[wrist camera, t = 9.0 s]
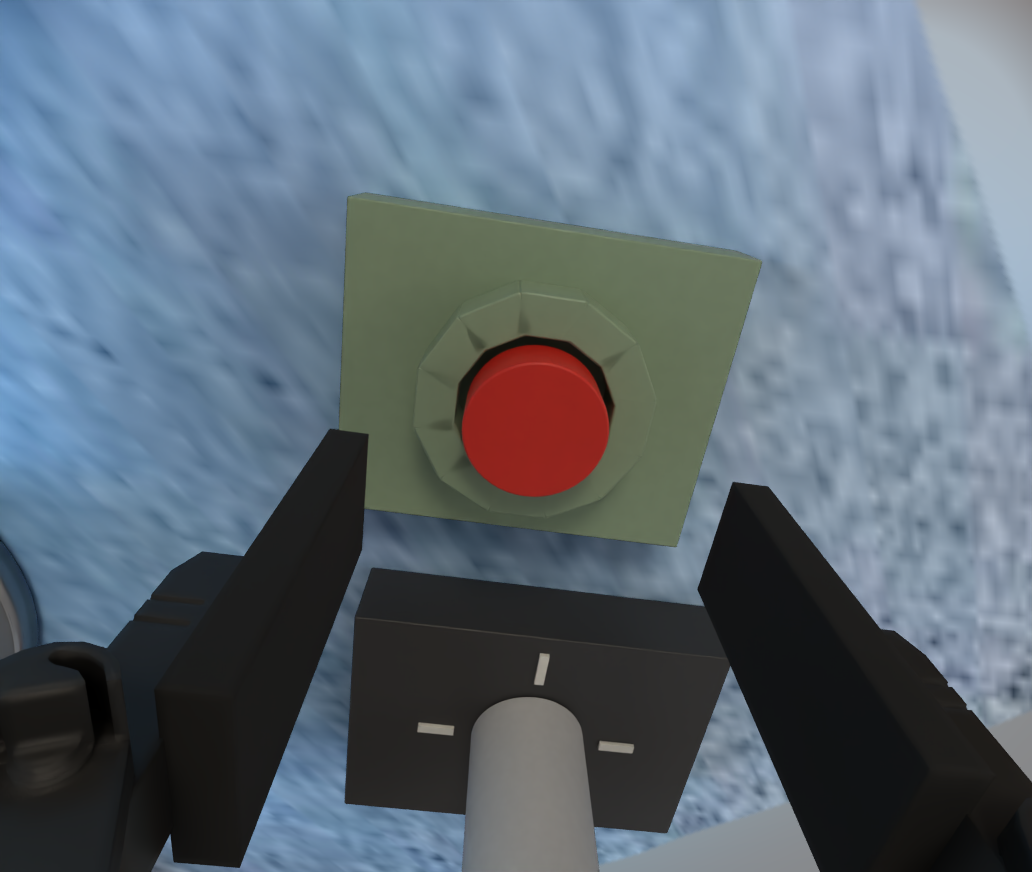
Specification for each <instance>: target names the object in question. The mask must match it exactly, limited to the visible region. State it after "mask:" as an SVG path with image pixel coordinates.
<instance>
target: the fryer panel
mask: <svg viewBox="0 0 1032 872" xmlns="http://www.w3.org/2000/svg"><path fill="white" fill-rule="evenodd" d="M729 668H730V663H729V661H728V659H727V656H726V654H725V652H724V649H723V647H722V645H721V643H720V640H719V638H718V636H717V633H716V631H715V629H714V626H713V624H712V622H711V619H710V617H709V615H708V613H707V610H706V608H705V607H702V606H694V605H685V604H677V603H668V602H660V601H651V600H643V599H634V598H626V597H617V596H609V595H600V594H592V593H583V592H575V591H566V590H558V589H549V588H541V587H532V586H524V585H515V584H507V583H498V582H490V581H481V580H473V579H464V578H456V577H447V576H439V575H430V574H422V573H413V572H405V571H396V570H388V569H379V568H372V569H371V572H370V574H369V577H368V580H367V583H366V586H365V589H364V592H363V595H362V598H361V601H360V604H359V607H358V610H357V612H356V615H355V623H354V641H353V659H352V677H351V695H350V713H349V731H348V749H347V767H346V784H345V803H346V804H355V805H365V806H376V807H387V808H398V809H409V810H420V811H430V812H441V813H452V814H463V815H466V802H467V788H468V774H469V759H470V745H471V733H472V729H473V726H474V724H475V722H476V721H477V719H478V718H479V717H480V716H481V714H482V713H484V712H485V711H486V710H487V709H488V708H490V707H492V706H493V705H495V704H497V703H499V702H502V701H505V700H508V699H512V698H519V697H536V698H543V699H547V700H550V701H553V702H556V703H558V704H560V705H562V706H563V707H565V708H566V709H568V710H569V711H570V712H571V713H572V714H573V715H574V716H575V718H576V719H577V721H578V722H579V724H580V727H581V730H582V735H583V743H584V751H585V759H586V767H587V775H588V783H589V791H590V800H591V808H592V816H593V824H594V827H604V828H615V829H625V830H636V831H647V832H658V833H667V832H668V830H669V827H670V824H671V822H672V819H673V817H674V814H675V811H676V809H677V806H678V803H679V801H680V798H681V795H682V793H683V790H684V787H685V785H686V782H687V779H688V777H689V774H690V771H691V769H692V766H693V763H694V761H695V758H696V755H697V753H698V750H699V748H700V745H701V742H702V740H703V737H704V734H705V732H706V729H707V726H708V724H709V721H710V718H711V716H712V713H713V710H714V708H715V705H716V702H717V700H718V697H719V694H720V692H721V689H722V686H723V684H724V681H725V679H726V676H727V673H728V671H729Z"/></svg>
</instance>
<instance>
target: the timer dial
mask: <svg viewBox="0 0 1032 872" xmlns="http://www.w3.org/2000/svg"><path fill="white" fill-rule="evenodd" d="M462 872H599V864H598V856H597V848H596V840H595V832H594V824H593V816H592V808H591V800H590V791H589V783H588V775H587V767H586V759H585V751H584V743H583V735H582V730H581V727H580V724H579V722H578V721H577V719H576V718H575V716H574V715H573V714H572V713H571V712H570V711H569V710H568V709H566V708H565V707H563V706H562V705H560V704H558V703H556V702H553V701H550V700H547V699H543V698H536V697H519V698H512V699H508V700H505V701H502V702H499V703H497V704H495V705H493V706H492V707H490V708H488V709H487V710H486V711H485V712H484V713H482V714H481V716H480V717H479V718H478V719H477V721H476V722H475V724H474V726H473V729H472V733H471V745H470V759H469V774H468V788H467V802H466V817H465V831H464V845H463V860H462Z"/></svg>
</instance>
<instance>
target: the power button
mask: <svg viewBox="0 0 1032 872" xmlns="http://www.w3.org/2000/svg"><path fill="white" fill-rule="evenodd" d="M608 437H609V419H608V413H607V410H606V406H605V404H604V401H603V398H602V396H601V393H600V391H599V388H598V386H597V383H596V381H595V379H594V377H593V376H592V374H591V373H590V371H589V370H588V369H587V368H586V366H585V365H584V364H583V363H581V362H580V361H579V360H578V359H577V358H575V357H574V356H572V355H571V354H569V353H567V352H565V351H563V350H560V349H558V348H555V347H550V346H546V345H524V346H518V347H515V348H511V349H508V350H506V351H504V352H502V353H500V354H498V355H496V356H495V357H493V358H492V359H491V360H489V361H488V362H487V363H486V364H485V365H484V366H483V367H482V368H481V369H480V370H479V372H478V373H477V374H476V376H475V377H474V379H473V381H472V383H471V385H470V388H469V391H468V393H467V399H466V404H465V409H464V414H463V420H462V440H463V445H464V449H465V451H466V454H467V456H468V458H469V460H470V462H471V464H472V465H473V466H474V468H475V469H476V470H477V472H478V473H479V474H480V475H481V476H482V477H483V478H484V479H486V480H487V481H488V482H489V483H491V484H492V485H494V486H496V487H497V488H499V489H501V490H503V491H506V492H508V493H512V494H515V495H520V496H527V497H543V496H549V495H554V494H557V493H561V492H563V491H566V490H568V489H570V488H572V487H574V486H575V485H577V484H578V483H580V482H581V481H583V480H584V479H585V478H586V477H587V476H588V475H589V474H590V473H591V472H592V471H593V470H594V469H595V467H596V466H597V465H598V463H599V461H600V460H601V458H602V456H603V454H604V452H605V449H606V446H607V443H608Z"/></svg>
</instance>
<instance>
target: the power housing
mask: <svg viewBox="0 0 1032 872" xmlns="http://www.w3.org/2000/svg"><path fill="white" fill-rule="evenodd" d="M761 264H762V261H761V260H758V259H756V258H753V257H751V256H748V255H746V254H743V253H741V252H738V251H734V250H728V249H722V248H715V247H709V246H702V245H696V244H690V243H683V242H677V241H671V240H664V239H658V238H652V237H645V236H639V235H632V234H626V233H620V232H613V231H607V230H601V229H594V228H588V227H582V226H575V225H569V224H563V223H556V222H550V221H543V220H537V219H531V218H524V217H518V216H512V215H505V214H499V213H493V212H486V211H480V210H473V209H467V208H461V207H454V206H448V205H442V204H435V203H429V202H423V201H416V200H410V199H403V198H397V197H391V196H384V195H378V194H372V193H361V194H357V195H352V196H348V198H347V221H346V248H345V275H344V302H343V329H342V356H341V383H340V410H339V430H343V431H351V432H358V433H366V434H369V439H368V456H367V473H366V490H365V507H364V509H371V510H379V511H387V512H395V513H404V514H412V515H420V516H428V517H436V518H444V519H452V520H460V521H468V522H476V523H484V524H492V525H500V526H509V527H517V528H525V529H533V530H541V531H549V532H557V533H565V534H573V535H581V536H589V537H597V538H606V539H614V540H622V541H630V542H638V543H646V544H654V545H662V546H670V547H677V544H678V540H679V537H680V534H681V530H682V527H683V524H684V520H685V517H686V514H687V510H688V507H689V504H690V500H691V497H692V494H693V490H694V487H695V484H696V480H697V477H698V474H699V471H700V467H701V464H702V461H703V457H704V454H705V451H706V447H707V444H708V441H709V437H710V434H711V431H712V427H713V424H714V421H715V417H716V414H717V411H718V407H719V404H720V401H721V397H722V394H723V391H724V387H725V384H726V381H727V377H728V374H729V371H730V367H731V364H732V361H733V357H734V354H735V351H736V348H737V344H738V341H739V338H740V334H741V331H742V328H743V324H744V321H745V318H746V314H747V311H748V308H749V304H750V301H751V298H752V294H753V291H754V288H755V284H756V281H757V278H758V274H759V271H760V268H761ZM524 345H546V346H550V347H555V348H558V349H560V350H563V351H565V352H567V353H569V354H571V355H572V356H574V357H575V358H577V359H578V360H579V361H580V362H581V363H583V364H584V365H585V366H586V368H587V369H588V370H589V371H590V373H591V374H592V376H593V377H594V379H595V381H596V383H597V386H598V388H599V391H600V393H601V396H602V398H603V401H604V404H605V406H606V410H607V413H608V419H609V437H608V443H607V446H606V449H605V452H604V454H603V456H602V458H601V460H600V461H599V463H598V465H597V466H596V467H595V469H594V470H593V471H592V472H591V473H590V474H589V475H588V476H587V477H586V478H585V479H584V480H583V481H581V482H580V483H578V484H577V485H575V486H574V487H572V488H570V489H568V490H566V491H563V492H561V493H557V494H554V495H549V496H543V497H527V496H520V495H515V494H512V493H508V492H506V491H503V490H501V489H499V488H497V487H496V486H494V485H492V484H491V483H489V482H488V481H487V480H486V479H484V478H483V477H482V476H481V475H480V474H479V473H478V472H477V470H476V469H475V468H474V466H473V465H472V464H471V462H470V460H469V458H468V456H467V454H466V451H465V449H464V445H463V440H462V420H463V414H464V409H465V404H466V399H467V393H468V391H469V388H470V385H471V383H472V381H473V379H474V377H475V376H476V374H477V373H478V372H479V370H480V369H481V368H482V367H483V366H484V365H485V364H486V363H487V362H488V361H489V360H491V359H492V358H493V357H495V356H496V355H498V354H500V353H502V352H504V351H506V350H508V349H511V348H515V347H518V346H524Z"/></svg>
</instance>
